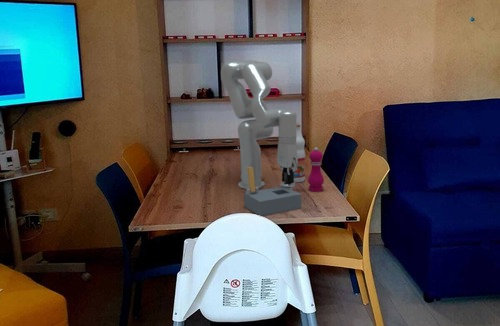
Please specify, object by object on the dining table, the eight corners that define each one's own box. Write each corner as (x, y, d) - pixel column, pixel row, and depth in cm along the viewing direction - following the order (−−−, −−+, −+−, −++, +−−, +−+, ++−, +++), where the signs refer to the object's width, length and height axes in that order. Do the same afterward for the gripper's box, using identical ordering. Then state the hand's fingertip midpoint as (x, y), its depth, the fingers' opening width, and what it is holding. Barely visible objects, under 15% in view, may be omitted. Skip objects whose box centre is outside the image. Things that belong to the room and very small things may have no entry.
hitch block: (244, 206, 202) (243, 187, 200) (283, 199, 210) (283, 181, 208) (260, 216, 190) (259, 196, 188) (301, 208, 198) (301, 188, 196)
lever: (251, 193, 198) (249, 193, 199) (255, 192, 198) (254, 192, 200) (248, 167, 197) (246, 167, 198) (253, 167, 198) (251, 166, 199)
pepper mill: (322, 187, 226) (322, 145, 222) (325, 191, 219) (325, 148, 215) (306, 187, 226) (306, 146, 222) (309, 192, 219) (309, 149, 215)
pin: (277, 198, 212) (277, 171, 209) (290, 195, 215) (290, 169, 212) (285, 202, 206) (285, 174, 204) (298, 199, 209) (298, 172, 206)
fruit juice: (307, 178, 242) (307, 123, 236) (302, 183, 234) (302, 126, 227) (288, 177, 246) (288, 122, 239) (283, 182, 237) (283, 125, 231)
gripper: (270, 138, 210) (271, 179, 214) (290, 144, 196) (290, 188, 200) (285, 136, 213) (285, 176, 218) (305, 142, 199) (305, 185, 203)
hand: (287, 181), depth 209 cm, fingers closed on pin, 3 cm apart
